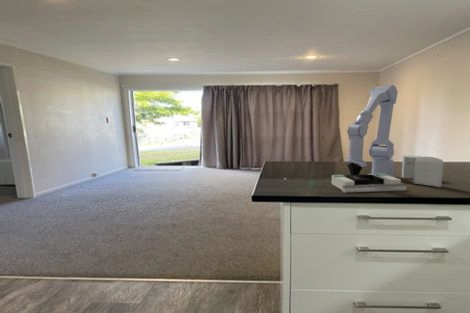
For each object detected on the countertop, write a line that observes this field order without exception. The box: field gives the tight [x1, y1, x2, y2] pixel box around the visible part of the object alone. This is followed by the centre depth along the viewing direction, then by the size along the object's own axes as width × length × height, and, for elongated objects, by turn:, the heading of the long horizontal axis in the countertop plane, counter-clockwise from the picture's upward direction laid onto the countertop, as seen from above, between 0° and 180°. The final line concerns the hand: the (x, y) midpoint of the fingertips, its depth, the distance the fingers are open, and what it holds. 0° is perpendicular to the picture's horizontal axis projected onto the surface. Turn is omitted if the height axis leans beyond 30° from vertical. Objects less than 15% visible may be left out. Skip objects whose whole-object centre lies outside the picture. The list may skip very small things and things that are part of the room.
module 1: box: [331, 174, 355, 190], centre depth 114 cm, size 4×12×4 cm, turn 5°
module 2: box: [374, 173, 402, 184], centre depth 116 cm, size 4×12×4 cm, turn 5°
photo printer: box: [413, 156, 444, 188], centre depth 116 cm, size 10×4×12 cm, turn 39°
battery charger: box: [343, 173, 384, 185], centre depth 117 cm, size 13×10×4 cm
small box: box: [401, 155, 423, 180], centre depth 130 cm, size 8×6×10 cm
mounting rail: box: [341, 182, 407, 194], centre depth 108 cm, size 26×2×2 cm, turn 95°
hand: (354, 179), depth 124 cm, fingers closed
